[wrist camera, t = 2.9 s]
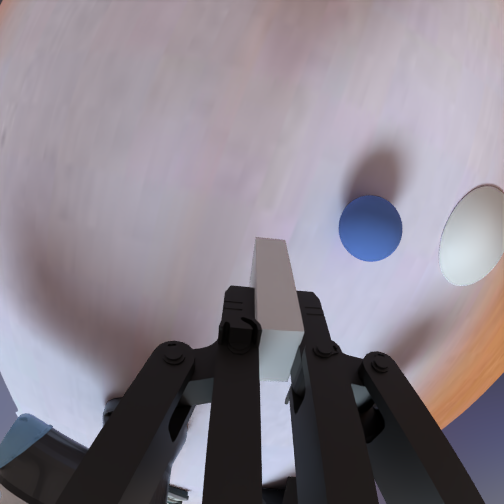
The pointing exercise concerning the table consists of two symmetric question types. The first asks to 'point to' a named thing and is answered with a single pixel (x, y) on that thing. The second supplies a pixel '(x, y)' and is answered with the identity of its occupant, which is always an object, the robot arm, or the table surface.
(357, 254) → the ball
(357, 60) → the table surface
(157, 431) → the robot arm
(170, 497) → the communication device
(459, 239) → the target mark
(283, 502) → the office phone
